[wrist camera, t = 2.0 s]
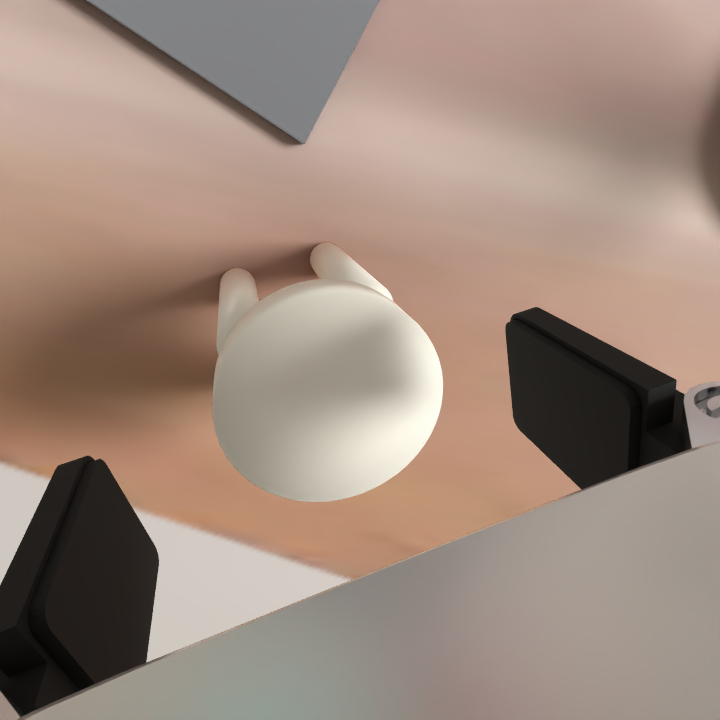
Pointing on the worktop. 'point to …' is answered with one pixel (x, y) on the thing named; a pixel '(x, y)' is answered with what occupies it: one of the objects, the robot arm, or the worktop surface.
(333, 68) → the mat
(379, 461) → the stool
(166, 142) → the worktop surface
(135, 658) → the robot arm
